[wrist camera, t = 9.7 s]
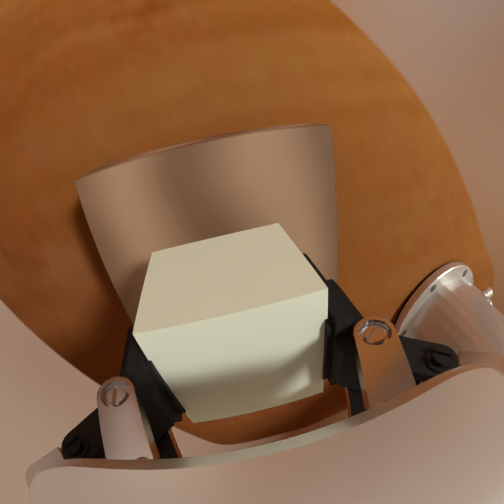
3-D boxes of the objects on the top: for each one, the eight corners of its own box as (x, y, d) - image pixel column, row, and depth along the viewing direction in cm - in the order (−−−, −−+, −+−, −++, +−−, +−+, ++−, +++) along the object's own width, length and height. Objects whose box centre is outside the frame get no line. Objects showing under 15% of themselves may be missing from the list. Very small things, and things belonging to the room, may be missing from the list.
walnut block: (300, 123, 15) (331, 125, 11) (313, 288, 20) (334, 321, 17) (101, 166, 14) (74, 181, 10) (159, 323, 19) (155, 363, 16)
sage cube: (278, 222, 10) (328, 287, 7) (288, 318, 13) (323, 391, 9) (152, 252, 10) (132, 334, 6) (188, 342, 12) (192, 422, 8)
